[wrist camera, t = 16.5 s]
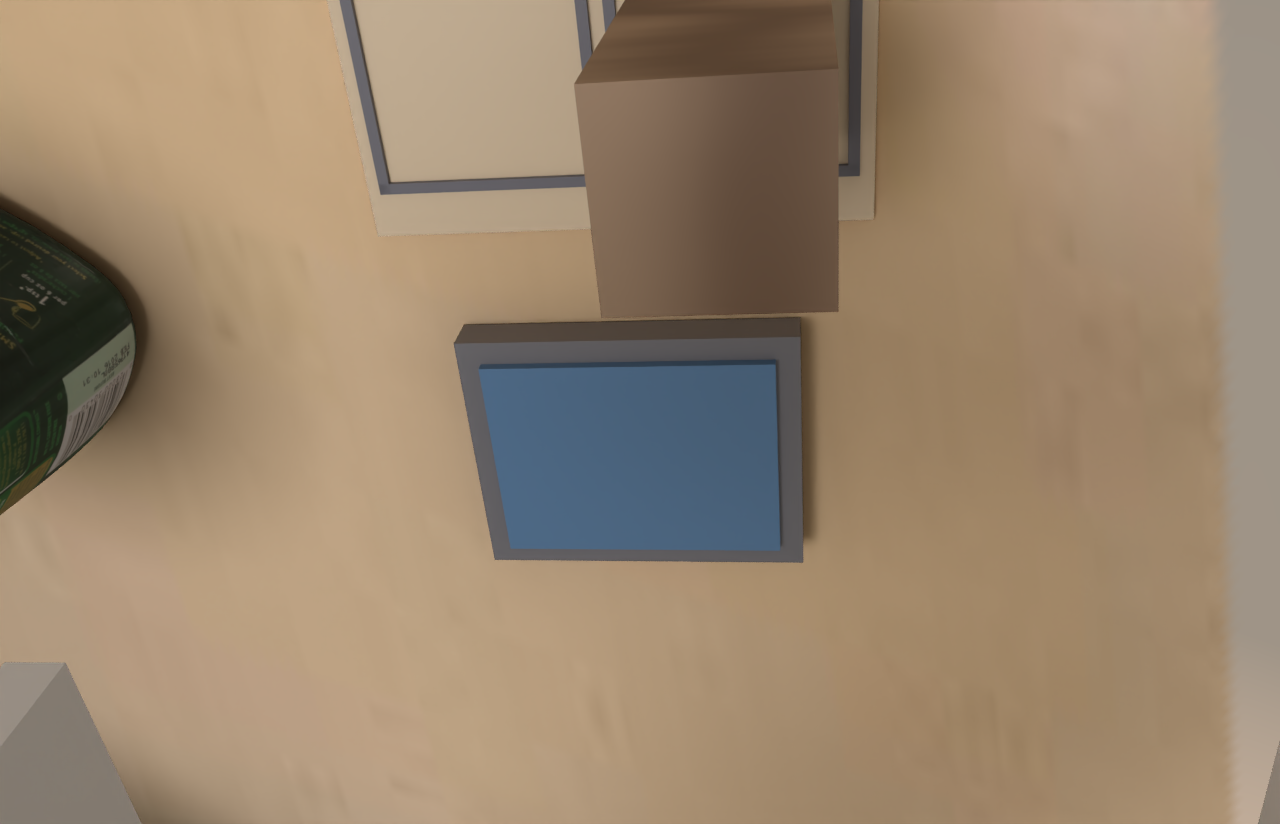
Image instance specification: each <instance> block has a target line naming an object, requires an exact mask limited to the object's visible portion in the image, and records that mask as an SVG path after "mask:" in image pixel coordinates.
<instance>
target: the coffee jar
mask: <svg viewBox="0 0 1280 824" xmlns="http://www.w3.org/2000/svg"><path fill="white" fill-rule="evenodd" d="M135 355H136V331H135V326H134V323H133V320H132V316H131V313H130V311H129V309H128V307H127V304H126V302H125V300H124V298H123V297H122V295H121V293H120V292H119V291H118V290H117V288H116V287H115V286H114V285H113V284H112V283H111V282H110V281H109V280H108V279H107V278H106V277H105V276H104V275H103V274H102V273H101V272H100V271H98V270H97V269H96V268H95V267H93V266H92V265H91V264H89V263H88V262H86V261H85V260H83V259H82V258H80V257H79V256H78V255H76V254H75V253H73V252H72V251H70V250H69V249H68V248H67V247H65V246H64V245H62V244H60V243H58V242H57V241H55V240H54V239H52V238H51V237H49V236H48V235H46V234H44V233H43V232H41V231H40V230H38V229H37V228H35V227H34V226H32V225H30V224H28V223H26V222H24V221H22V220H20V219H18V218H17V217H15V216H13V215H12V214H10V213H8V212H6V211H4V210H2V209H1V208H0V515H1V514H2V513H4V512H5V511H6V510H7V509H9V508H10V507H11V506H13V505H14V504H15V503H16V502H18V501H19V500H20V499H22V498H23V497H24V496H25V495H26V494H28V493H29V492H30V491H32V490H33V489H34V488H35V487H37V486H38V485H39V484H40V483H42V482H43V481H44V480H45V479H47V478H48V477H49V476H50V475H52V474H53V473H54V472H55V471H57V470H58V469H59V468H60V467H61V466H63V465H64V464H65V463H66V462H67V461H69V460H70V459H71V458H72V457H73V456H74V455H75V454H76V453H77V452H79V451H80V450H81V449H82V448H83V447H84V446H85V445H86V444H87V443H88V442H89V441H90V440H91V439H92V438H93V437H94V436H95V435H96V434H97V433H98V432H99V431H100V430H101V429H102V428H103V426H104V425H105V424H106V422H107V421H108V420H109V418H110V417H111V415H112V413H113V412H114V410H115V409H116V407H117V405H118V404H119V402H120V400H121V398H122V396H123V395H124V393H125V390H126V388H127V385H128V382H129V379H130V376H131V373H132V369H133V365H134V360H135Z"/></svg>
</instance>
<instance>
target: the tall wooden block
mask: <svg viewBox="0 0 1280 824" xmlns="http://www.w3.org/2000/svg"><path fill="white" fill-rule="evenodd" d="M574 90H575V98H576V107H577V115H578V124H579V132H580V141H581V149H582V157H583V166H584V174H585V183H586V191H587V200H588V208H589V217H590V225H591V233H592V242H593V250H594V259H595V267H596V276H597V284H598V292H599V301H600V309H601V318H620V317H658V316H695V315H733V314H770V313H807V312H838V229H839V67H838V58H837V49H836V40H835V31H834V22H833V13H832V3H831V0H625V1H624V2H623V4H622V6H621V7H620V9H619V11H618V12H617V14H616V16H615V17H614V19H613V20H612V22H611V24H610V25H609V27H608V29H607V30H606V32H605V34H604V35H603V37H602V39H601V40H600V42H599V44H598V45H597V47H596V48H595V50H594V52H593V53H592V55H591V57H590V58H589V60H588V62H587V63H586V65H585V67H584V68H583V70H582V71H581V73H580V75H579V76H578V78H577V80H576V81H575V83H574Z"/></svg>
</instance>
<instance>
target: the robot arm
mask: <svg viewBox="0 0 1280 824" xmlns="http://www.w3.org/2000/svg"><path fill="white" fill-rule="evenodd" d="M0 824H142V823H141V821H140V819H139V817H138V815H137V813H136V811H135V809H134V807H133V804H132V802H131V800H130V798H129V796H128V794H127V792H126V790H125V788H124V785H123V783H122V781H121V779H120V777H119V775H118V773H117V771H116V768H115V766H114V764H113V762H112V760H111V758H110V756H109V754H108V752H107V749H106V747H105V745H104V743H103V741H102V739H101V737H100V735H99V733H98V730H97V728H96V726H95V724H94V722H93V720H92V718H91V716H90V713H89V711H88V709H87V707H86V705H85V703H84V701H83V699H82V697H81V694H80V692H79V690H78V688H77V686H76V684H75V682H74V680H73V678H72V675H71V673H70V671H69V669H68V667H67V665H66V663H26V662H4V664H3V665H2V666H1V667H0ZM1258 824H1280V742H1279V746H1278V750H1277V754H1276V758H1275V761H1274V765H1273V769H1272V773H1271V777H1270V781H1269V784H1268V788H1267V792H1266V796H1265V800H1264V803H1263V807H1262V811H1261V815H1260V819H1259V823H1258Z"/></svg>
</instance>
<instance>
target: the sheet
mask: <svg viewBox="0 0 1280 824" xmlns="http://www.w3.org/2000/svg"><path fill="white" fill-rule="evenodd" d="M624 1H625V0H327V4H328V8H329V13H330V17H331V22H332V27H333V31H334V36H335V40H336V45H337V50H338V54H339V59H340V63H341V68H342V73H343V77H344V82H345V86H346V91H347V96H348V100H349V105H350V109H351V114H352V119H353V123H354V128H355V132H356V137H357V142H358V146H359V151H360V155H361V160H362V165H363V169H364V174H365V179H366V183H367V188H368V192H369V197H370V202H371V206H372V211H373V215H374V220H375V225H376V229H377V234H378V236H406V235H436V234H465V233H495V232H524V231H554V230H583V229H591V225H590V217H589V208H588V200H587V191H586V183H585V174H584V166H583V157H582V149H581V141H580V132H579V124H578V115H577V107H576V98H575V90H574V83H575V81H576V80H577V78H578V76H579V75H580V73H581V71H582V70H583V68H584V67H585V65H586V63H587V62H588V60H589V58H590V57H591V55H592V53H593V52H594V50H595V48H596V47H597V45H598V44H599V42H600V40H601V39H602V37H603V35H604V34H605V32H606V30H607V29H608V27H609V25H610V24H611V22H612V20H613V19H614V17H615V16H616V14H617V12H618V11H619V9H620V7H621V6H622V4H623V2H624ZM831 3H832V13H833V22H834V31H835V40H836V49H837V58H838V67H839V221H849V220H874V194H875V151H876V108H877V65H878V22H879V0H831Z"/></svg>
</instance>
